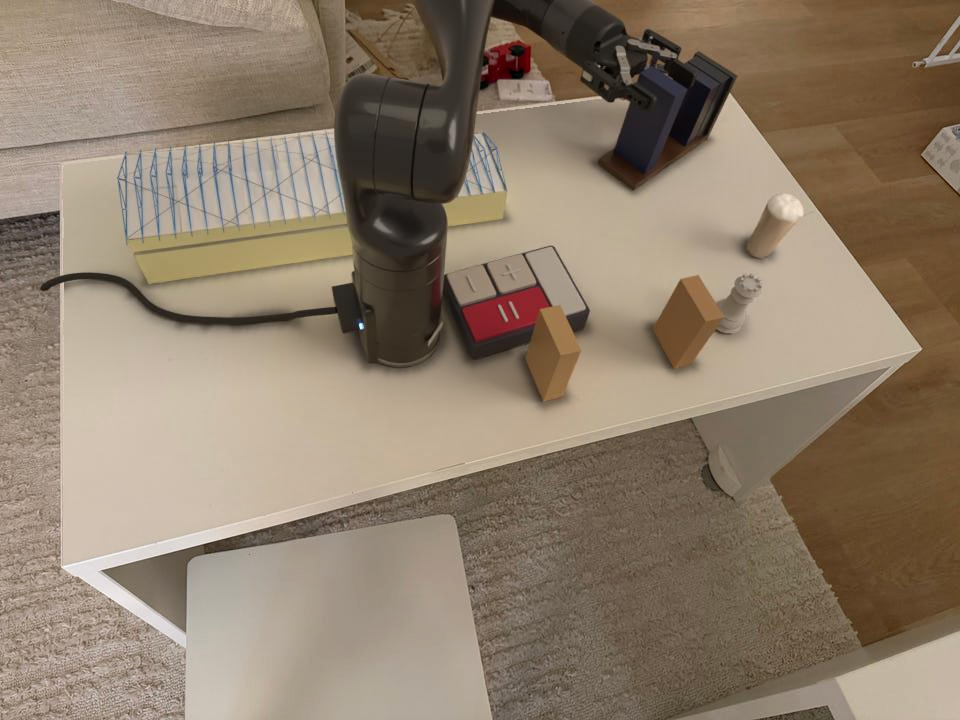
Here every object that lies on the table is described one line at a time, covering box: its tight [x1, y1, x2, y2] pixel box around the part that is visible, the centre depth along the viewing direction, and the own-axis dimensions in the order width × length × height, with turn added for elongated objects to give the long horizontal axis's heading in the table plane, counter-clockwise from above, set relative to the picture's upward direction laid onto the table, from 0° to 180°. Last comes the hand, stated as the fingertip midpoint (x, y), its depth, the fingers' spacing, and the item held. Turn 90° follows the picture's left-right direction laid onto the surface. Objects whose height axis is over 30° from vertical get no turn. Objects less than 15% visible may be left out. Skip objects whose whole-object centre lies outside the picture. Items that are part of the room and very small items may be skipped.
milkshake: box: [745, 192, 814, 259], centre depth 87 cm, size 4×5×10 cm
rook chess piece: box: [715, 273, 763, 334], centre depth 81 cm, size 4×4×8 cm
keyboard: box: [116, 130, 508, 285], centre depth 83 cm, size 45×15×10 cm, turn 105°
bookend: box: [597, 50, 738, 192], centre depth 95 cm, size 18×7×11 cm, turn 133°
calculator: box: [443, 245, 591, 360], centre depth 80 cm, size 11×4×15 cm
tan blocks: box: [524, 274, 724, 402], centre depth 75 cm, size 19×6×10 cm, turn 108°
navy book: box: [613, 66, 687, 174], centre depth 92 cm, size 3×6×13 cm, turn 43°
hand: (674, 93), depth 86 cm, fingers open, 8 cm apart
